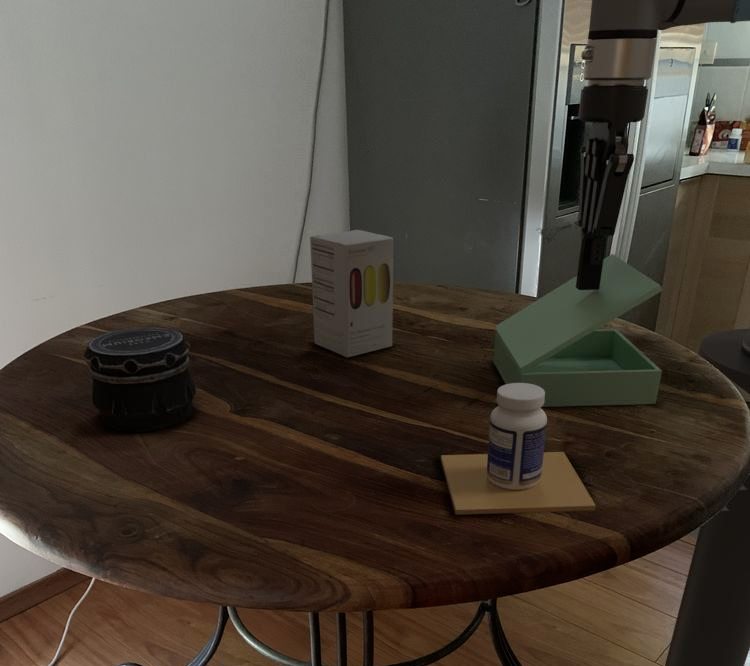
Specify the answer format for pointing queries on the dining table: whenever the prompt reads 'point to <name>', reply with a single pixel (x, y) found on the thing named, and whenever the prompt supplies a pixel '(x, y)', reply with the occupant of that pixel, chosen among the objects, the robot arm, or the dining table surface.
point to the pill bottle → (517, 437)
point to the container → (141, 378)
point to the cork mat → (483, 497)
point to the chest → (588, 372)
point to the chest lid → (573, 313)
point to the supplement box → (352, 291)
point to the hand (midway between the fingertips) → (587, 288)
